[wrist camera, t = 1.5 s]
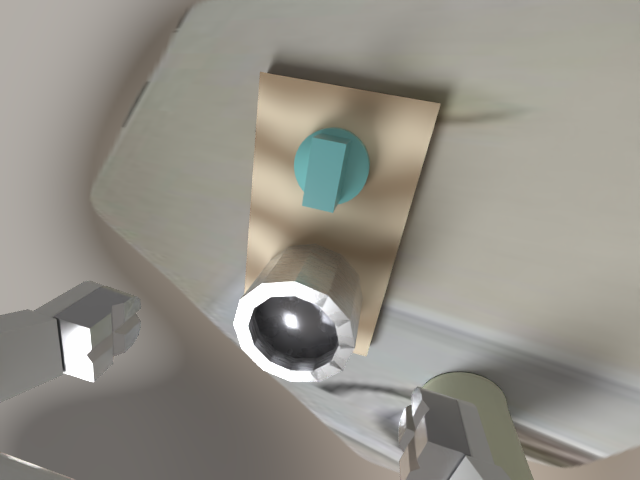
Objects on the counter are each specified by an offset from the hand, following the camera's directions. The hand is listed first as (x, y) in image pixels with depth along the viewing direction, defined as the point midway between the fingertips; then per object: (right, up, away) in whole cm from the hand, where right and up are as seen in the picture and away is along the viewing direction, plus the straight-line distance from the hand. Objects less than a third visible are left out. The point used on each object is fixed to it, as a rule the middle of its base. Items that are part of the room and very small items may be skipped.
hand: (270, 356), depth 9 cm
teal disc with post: (+3, +10, +18) cm, 21 cm away
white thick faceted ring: (+1, -2, +23) cm, 23 cm away
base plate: (+2, +4, +22) cm, 23 cm away
